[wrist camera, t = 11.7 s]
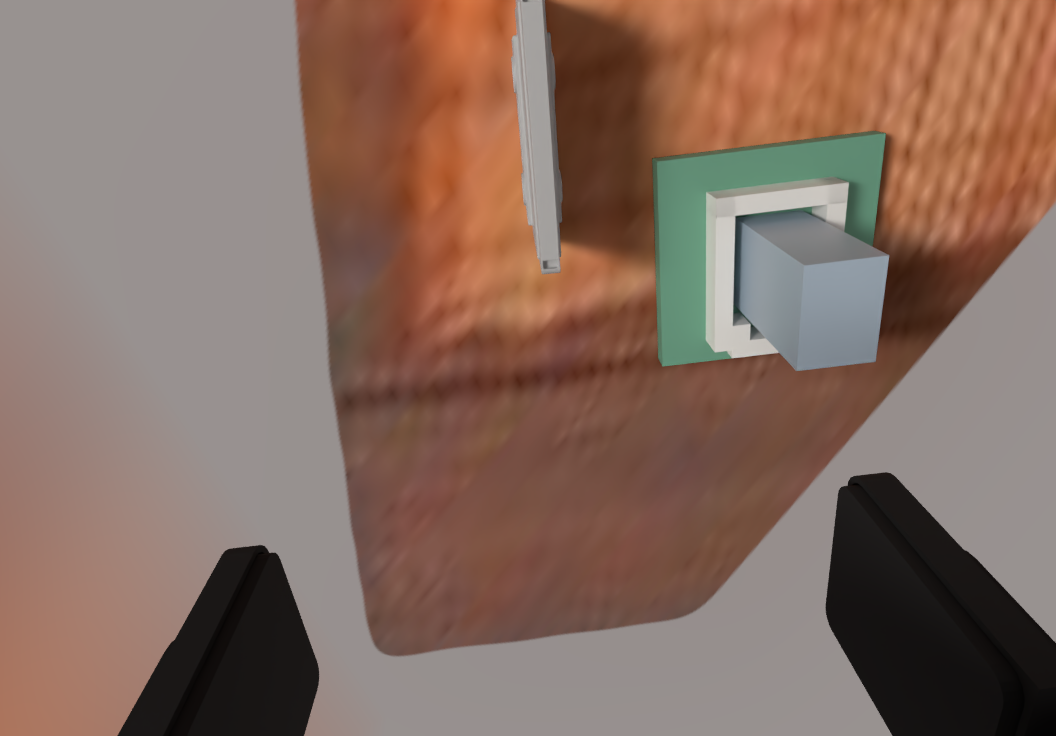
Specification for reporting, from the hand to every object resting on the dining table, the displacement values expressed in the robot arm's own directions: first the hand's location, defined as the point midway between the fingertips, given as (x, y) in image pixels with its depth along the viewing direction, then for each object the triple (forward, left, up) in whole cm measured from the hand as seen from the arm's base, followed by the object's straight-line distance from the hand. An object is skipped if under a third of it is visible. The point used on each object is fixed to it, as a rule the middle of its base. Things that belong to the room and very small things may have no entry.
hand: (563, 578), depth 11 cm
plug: (+4, +14, -27) cm, 31 cm away
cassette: (-4, +1, -29) cm, 29 cm away
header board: (+4, +14, -28) cm, 32 cm away
